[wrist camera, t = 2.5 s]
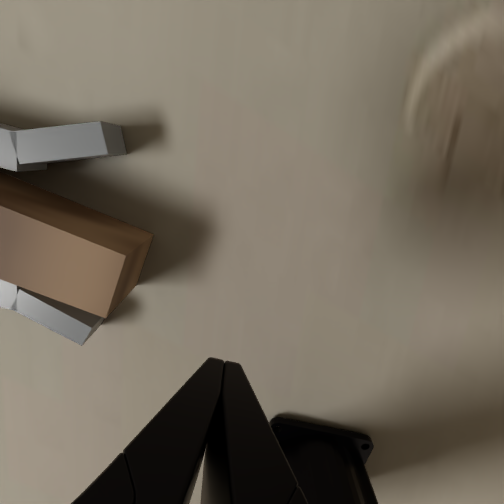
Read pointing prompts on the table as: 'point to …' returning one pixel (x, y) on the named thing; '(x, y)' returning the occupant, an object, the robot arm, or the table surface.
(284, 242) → the table surface
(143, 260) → the batten
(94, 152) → the guide
